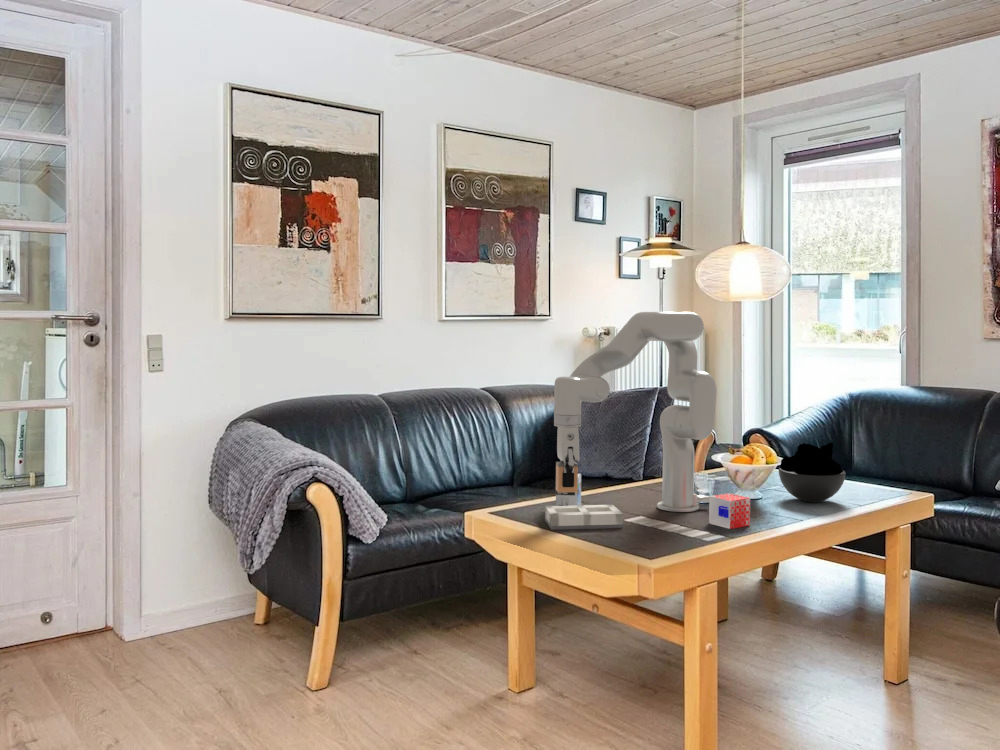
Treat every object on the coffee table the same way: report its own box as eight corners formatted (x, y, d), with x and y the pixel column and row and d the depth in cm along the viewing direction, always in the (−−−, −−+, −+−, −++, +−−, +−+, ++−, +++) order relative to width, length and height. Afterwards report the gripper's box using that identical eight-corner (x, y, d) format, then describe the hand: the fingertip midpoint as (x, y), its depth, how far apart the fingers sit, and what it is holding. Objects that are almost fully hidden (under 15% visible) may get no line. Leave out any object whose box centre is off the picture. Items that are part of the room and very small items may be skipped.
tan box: (574, 489, 248) (575, 461, 248) (577, 492, 244) (577, 463, 244) (555, 489, 248) (556, 461, 247) (558, 492, 244) (558, 464, 243)
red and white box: (749, 525, 245) (750, 497, 245) (730, 529, 241) (730, 500, 240) (728, 520, 252) (728, 493, 251) (708, 523, 248) (709, 496, 247)
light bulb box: (577, 515, 258) (577, 479, 257) (555, 514, 259) (555, 478, 259) (581, 507, 269) (581, 473, 268) (559, 506, 270) (559, 472, 269)
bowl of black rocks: (781, 506, 270) (782, 446, 268) (775, 494, 289) (776, 437, 288) (849, 509, 265) (851, 448, 264) (839, 496, 285) (840, 439, 283)
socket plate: (612, 518, 254) (612, 504, 254) (622, 527, 242) (622, 513, 242) (544, 519, 252) (544, 506, 252) (551, 529, 240) (551, 515, 240)
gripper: (586, 424, 237) (585, 490, 238) (575, 417, 254) (574, 480, 255) (559, 424, 236) (558, 491, 237) (549, 417, 253) (548, 480, 254)
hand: (566, 484), depth 246 cm, fingers closed on tan box, 4 cm apart
